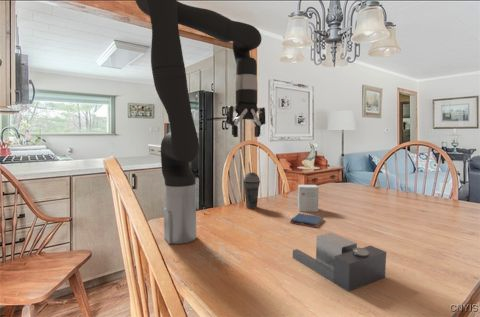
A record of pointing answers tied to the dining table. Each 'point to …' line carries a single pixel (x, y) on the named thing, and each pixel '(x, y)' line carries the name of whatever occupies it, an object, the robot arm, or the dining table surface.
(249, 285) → the dining table surface
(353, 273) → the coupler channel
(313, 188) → the small box
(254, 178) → the beverage cup
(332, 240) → the block
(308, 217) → the woven mat
